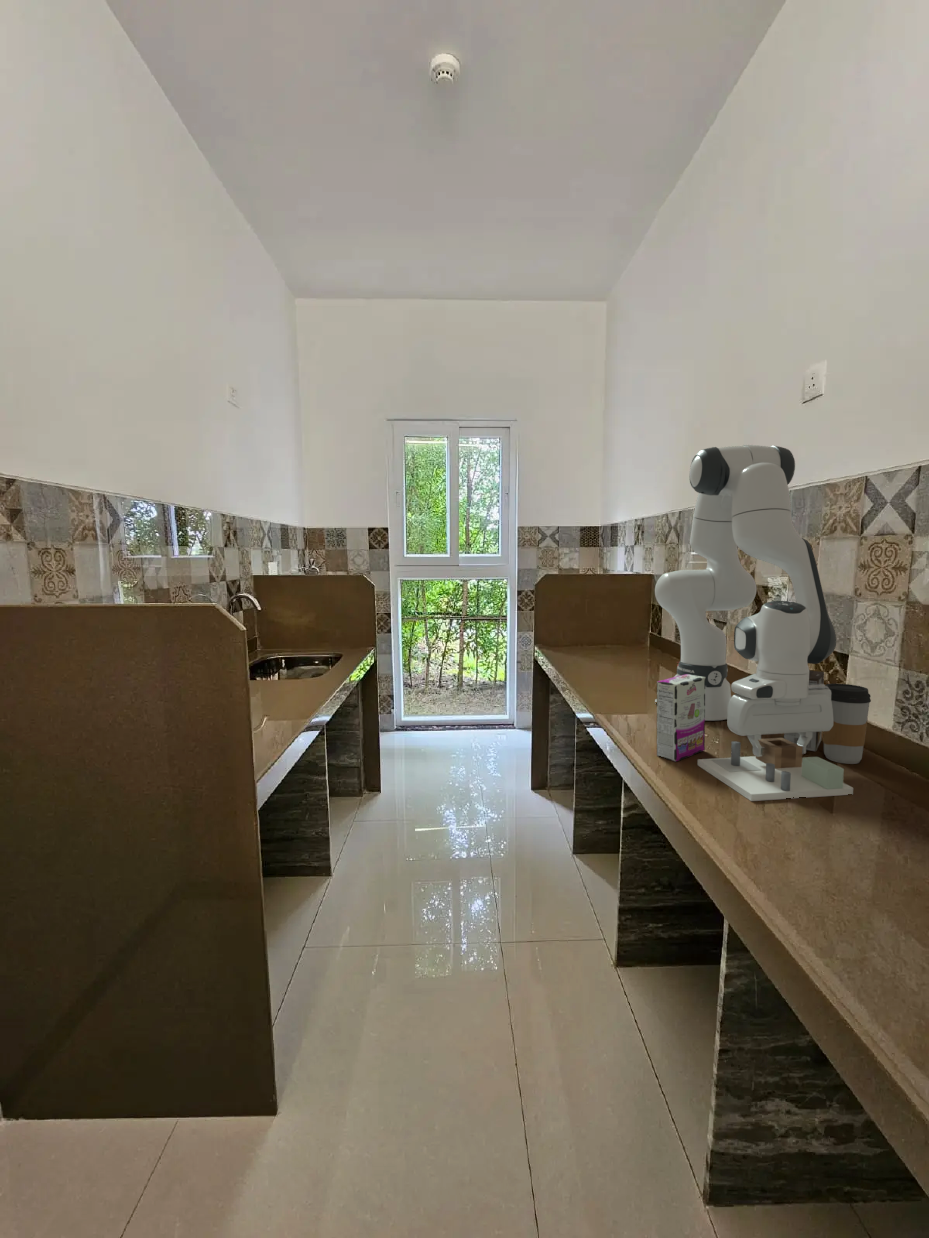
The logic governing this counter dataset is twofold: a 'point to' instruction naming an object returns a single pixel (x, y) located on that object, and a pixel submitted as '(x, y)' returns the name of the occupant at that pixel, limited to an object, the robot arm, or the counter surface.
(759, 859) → the counter surface
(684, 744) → the candy bar box
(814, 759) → the block
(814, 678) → the coffee box
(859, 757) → the coffee cup
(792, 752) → the wooden square block
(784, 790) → the base plate
